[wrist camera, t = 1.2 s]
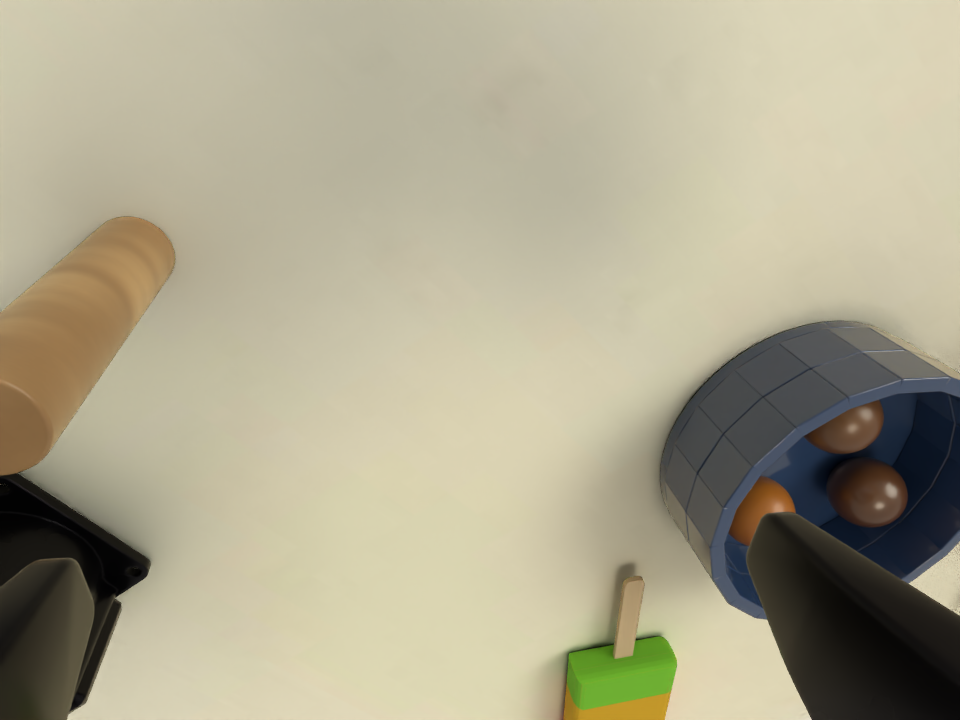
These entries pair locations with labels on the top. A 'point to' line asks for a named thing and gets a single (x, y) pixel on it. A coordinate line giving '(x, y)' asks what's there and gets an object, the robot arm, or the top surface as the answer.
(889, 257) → the top surface
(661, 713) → the popsicle
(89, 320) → the stick
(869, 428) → the bead
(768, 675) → the top surface
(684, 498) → the bowl
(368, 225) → the top surface
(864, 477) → the bead
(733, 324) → the top surface
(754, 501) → the bead
